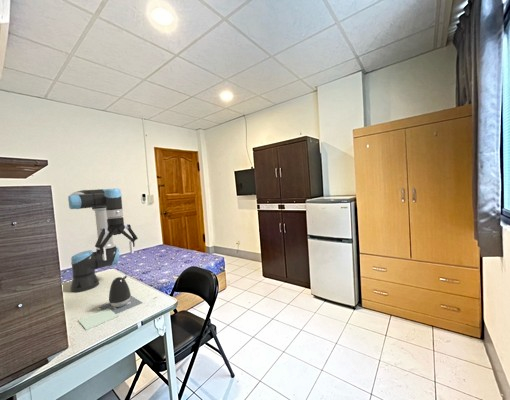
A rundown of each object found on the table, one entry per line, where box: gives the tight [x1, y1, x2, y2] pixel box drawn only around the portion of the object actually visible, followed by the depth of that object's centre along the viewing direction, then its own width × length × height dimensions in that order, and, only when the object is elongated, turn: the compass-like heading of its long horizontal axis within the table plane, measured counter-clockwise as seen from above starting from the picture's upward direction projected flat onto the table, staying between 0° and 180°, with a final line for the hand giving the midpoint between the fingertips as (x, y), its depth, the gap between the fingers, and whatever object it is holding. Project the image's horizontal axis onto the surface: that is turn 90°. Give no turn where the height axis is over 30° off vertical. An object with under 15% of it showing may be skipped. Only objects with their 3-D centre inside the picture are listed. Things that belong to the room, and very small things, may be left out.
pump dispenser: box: [108, 275, 132, 307], centre depth 123 cm, size 10×10×15 cm
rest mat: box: [77, 308, 119, 331], centre depth 111 cm, size 13×13×1 cm
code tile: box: [98, 295, 143, 315], centre depth 124 cm, size 16×16×1 cm
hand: (118, 256), depth 123 cm, fingers open, 13 cm apart
